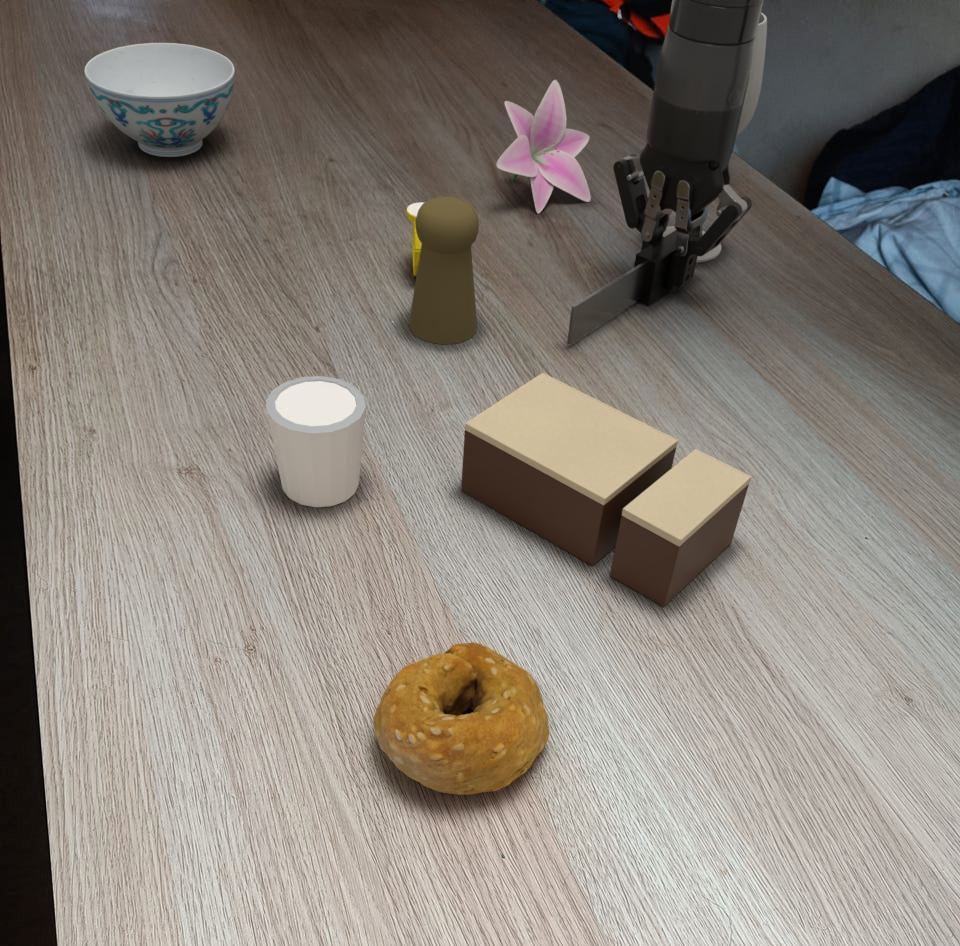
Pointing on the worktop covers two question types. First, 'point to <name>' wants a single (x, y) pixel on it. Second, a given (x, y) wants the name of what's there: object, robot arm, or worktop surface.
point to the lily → (546, 149)
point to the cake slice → (678, 526)
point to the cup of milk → (317, 438)
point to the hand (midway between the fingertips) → (662, 281)
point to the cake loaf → (562, 464)
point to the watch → (414, 234)
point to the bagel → (462, 720)
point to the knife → (627, 288)
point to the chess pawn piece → (445, 272)
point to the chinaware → (162, 93)
